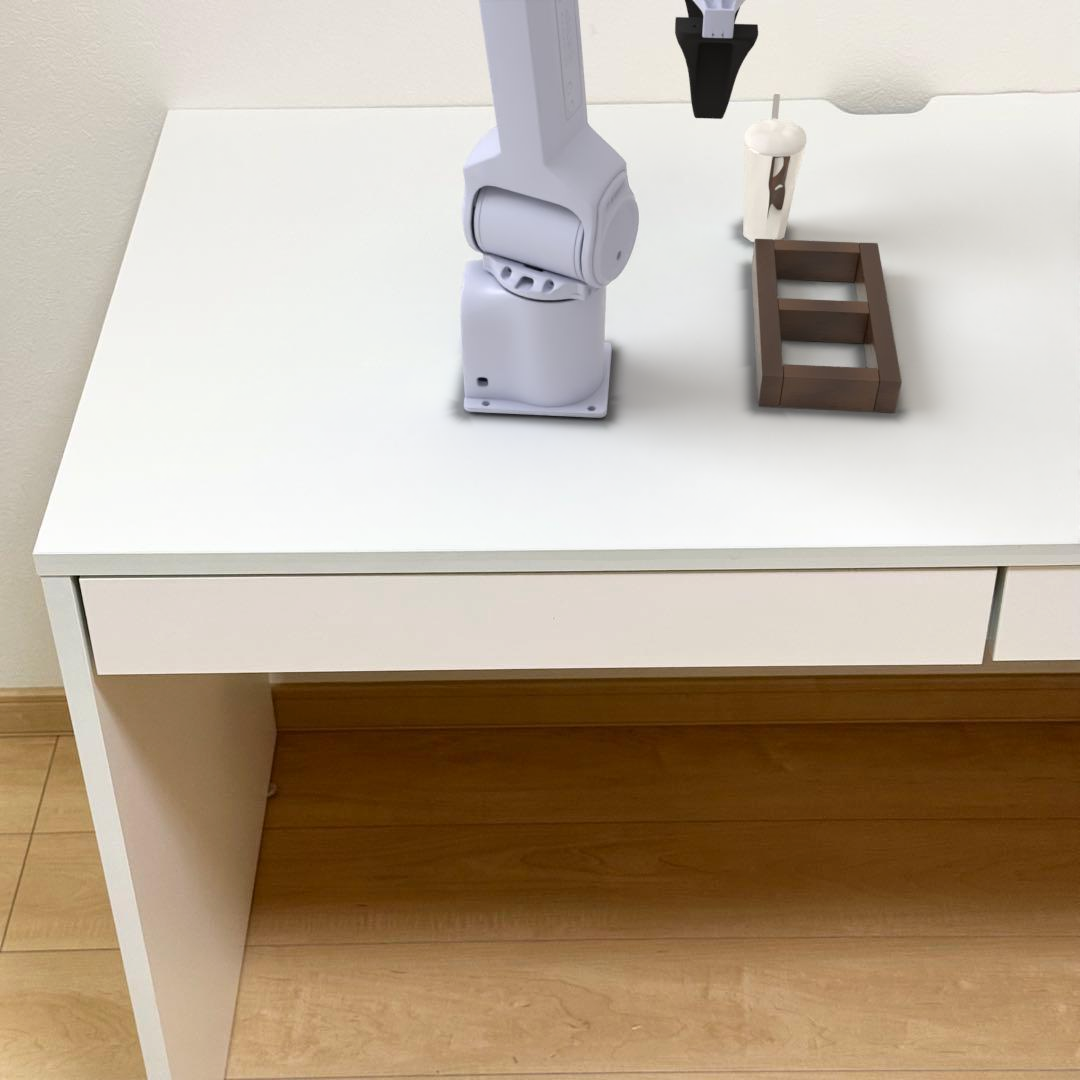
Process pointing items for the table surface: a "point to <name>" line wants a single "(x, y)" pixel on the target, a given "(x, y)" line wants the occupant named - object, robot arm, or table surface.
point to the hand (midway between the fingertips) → (708, 91)
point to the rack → (823, 327)
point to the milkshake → (770, 174)
